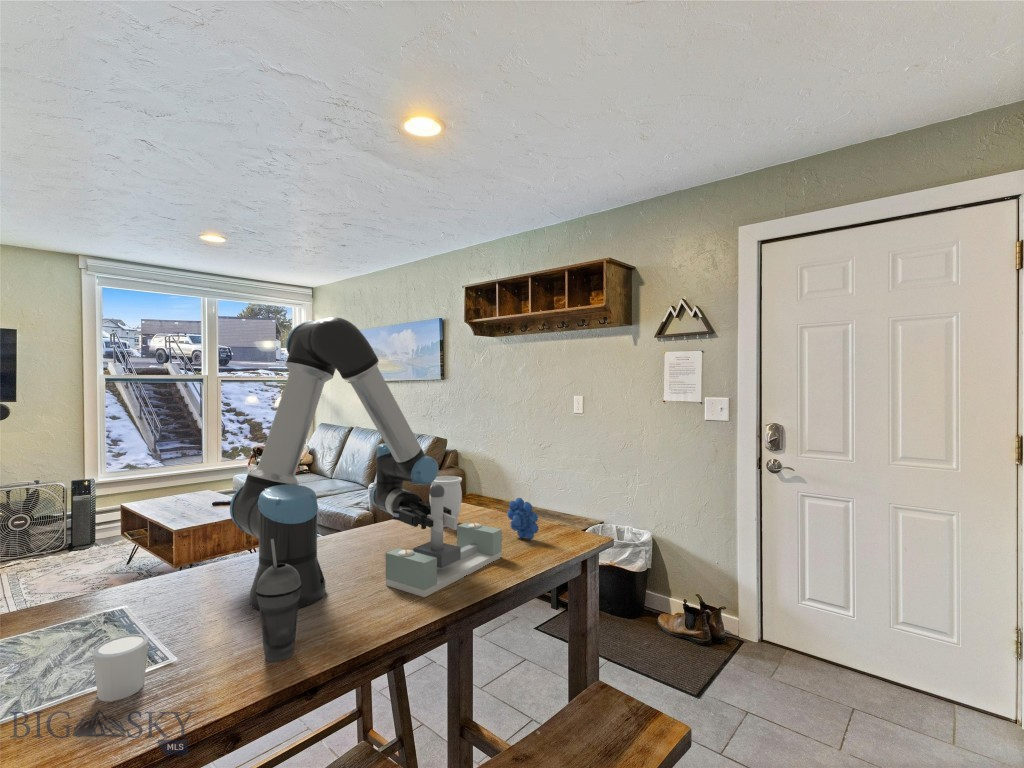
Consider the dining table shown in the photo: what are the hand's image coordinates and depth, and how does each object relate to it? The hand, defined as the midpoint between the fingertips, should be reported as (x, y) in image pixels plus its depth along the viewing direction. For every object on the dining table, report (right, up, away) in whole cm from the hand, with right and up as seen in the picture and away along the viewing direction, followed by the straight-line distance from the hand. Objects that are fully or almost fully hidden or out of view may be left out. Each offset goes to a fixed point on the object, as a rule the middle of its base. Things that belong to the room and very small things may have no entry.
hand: (448, 525), depth 119 cm
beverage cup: (-25, -14, -31) cm, 42 cm away
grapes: (+17, -13, +33) cm, 40 cm away
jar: (-7, -13, +49) cm, 51 cm away
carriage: (-3, -10, +5) cm, 11 cm away
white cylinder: (-45, -14, -41) cm, 63 cm away
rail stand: (-1, -13, +8) cm, 16 cm away
